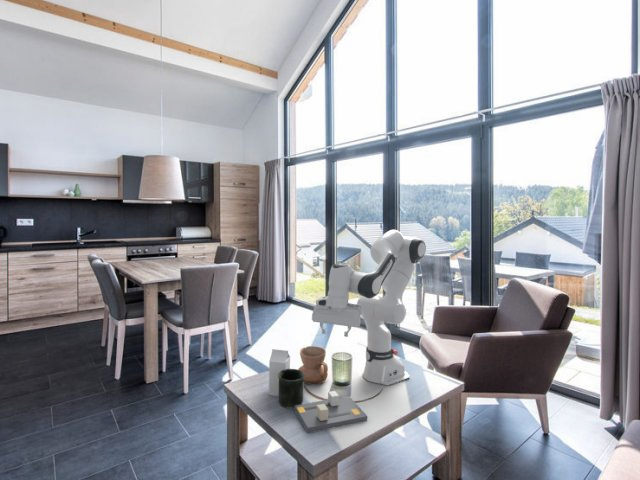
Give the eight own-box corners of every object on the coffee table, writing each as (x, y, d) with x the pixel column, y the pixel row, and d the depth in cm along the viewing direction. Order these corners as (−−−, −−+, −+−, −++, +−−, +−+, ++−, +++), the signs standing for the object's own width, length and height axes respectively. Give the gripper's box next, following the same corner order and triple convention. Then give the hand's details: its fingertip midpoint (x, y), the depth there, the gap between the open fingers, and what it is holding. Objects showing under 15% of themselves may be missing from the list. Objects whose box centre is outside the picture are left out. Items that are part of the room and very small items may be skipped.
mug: (283, 412, 148) (284, 382, 146) (270, 395, 160) (270, 368, 159) (308, 406, 153) (309, 377, 152) (293, 390, 165) (294, 363, 164)
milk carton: (284, 397, 159) (285, 353, 157) (268, 395, 160) (269, 352, 159) (289, 389, 166) (290, 347, 164) (274, 387, 167) (274, 346, 166)
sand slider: (323, 413, 143) (324, 403, 142) (327, 419, 139) (328, 409, 139) (316, 415, 142) (316, 405, 141) (320, 420, 138) (320, 410, 138)
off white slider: (334, 400, 153) (335, 390, 153) (338, 405, 149) (339, 395, 149) (327, 401, 152) (328, 391, 152) (331, 406, 148) (332, 396, 148)
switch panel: (348, 400, 158) (349, 395, 158) (367, 421, 143) (367, 415, 143) (294, 410, 149) (294, 405, 149) (307, 433, 134) (308, 427, 134)
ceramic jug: (288, 377, 178) (289, 348, 176) (312, 369, 187) (313, 341, 186) (313, 393, 164) (314, 362, 163) (337, 383, 174) (338, 353, 172)
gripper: (363, 303, 157) (360, 336, 158) (315, 297, 161) (312, 329, 162) (362, 306, 151) (359, 340, 152) (312, 300, 155) (309, 333, 155)
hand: (334, 334), depth 157 cm, fingers open, 8 cm apart
